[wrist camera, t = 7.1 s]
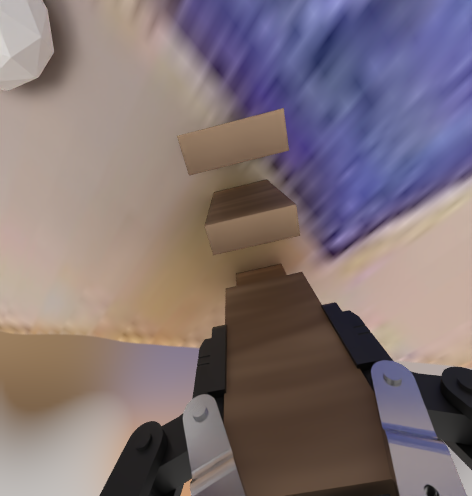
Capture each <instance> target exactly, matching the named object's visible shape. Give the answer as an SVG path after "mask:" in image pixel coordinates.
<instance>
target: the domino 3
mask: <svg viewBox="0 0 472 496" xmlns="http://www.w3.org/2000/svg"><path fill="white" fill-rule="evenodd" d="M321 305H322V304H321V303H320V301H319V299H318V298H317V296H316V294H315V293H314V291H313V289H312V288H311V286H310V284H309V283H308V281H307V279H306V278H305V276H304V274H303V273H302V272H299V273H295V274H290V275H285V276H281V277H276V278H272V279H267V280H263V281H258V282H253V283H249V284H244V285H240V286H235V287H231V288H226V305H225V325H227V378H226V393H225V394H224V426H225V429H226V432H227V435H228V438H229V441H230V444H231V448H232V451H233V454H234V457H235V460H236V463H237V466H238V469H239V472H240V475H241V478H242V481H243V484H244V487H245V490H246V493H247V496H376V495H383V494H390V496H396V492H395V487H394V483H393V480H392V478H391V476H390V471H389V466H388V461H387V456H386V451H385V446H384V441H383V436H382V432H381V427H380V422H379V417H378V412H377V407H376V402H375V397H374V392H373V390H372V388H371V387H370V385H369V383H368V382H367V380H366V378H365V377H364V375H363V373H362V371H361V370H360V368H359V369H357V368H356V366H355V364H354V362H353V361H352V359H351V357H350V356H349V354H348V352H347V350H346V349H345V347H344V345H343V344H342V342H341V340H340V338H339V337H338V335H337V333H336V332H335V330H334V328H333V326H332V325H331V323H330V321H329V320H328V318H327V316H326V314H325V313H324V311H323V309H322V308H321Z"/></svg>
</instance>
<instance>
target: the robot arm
mask: <svg viewBox="0 0 472 496" xmlns="http://www.w3.org/2000/svg"><path fill="white" fill-rule="evenodd" d="M321 308H322V309H323V311H324V313H325V314H326V316H327V318H328V320H329V321H330V323H331V325H332V326H333V328H334V330H335V332H336V333H337V335H338V337H339V338H340V340H341V342H342V344H343V345H344V347H345V349H346V350H347V352H348V354H349V356H350V357H351V359H352V361H353V362H354V364H355V366H356V368H357V369H359V368H360V370H361V371H362V373H363V375H364V377H365V378H366V380H367V382H368V383H369V385H370V387H371V388H372V390H373V392H374V397H375V402H376V407H377V412H378V417H379V422H380V427H381V432H382V436H383V441H384V446H385V451H386V456H387V461H388V466H389V471H390V476H391V478H392V480H393V483H394V487H395V492H396V496H467V495H466V492H465V490H464V487H463V485H462V482H461V480H460V477H459V475H458V472H457V469H456V467H455V465H454V462H453V459H452V457H451V454H450V452H449V450H448V448H447V446H446V444H447V445H448V446H449V447H450V448H451V450H452V451H454V452H455V453H456V455H458V457H459V458H460V459H461V460H462V461H463V462H465V464H466V465H467V466H468V467H469V468H470V469H471V470H472V370H470V369H467V368H463V367H449V368H447V369H445V370H444V371H443V373H442V376H436V375H426V374H418V373H414V372H411V371H409V370H408V369H407V368H406V367H404V366H403V365H401V364H399V363H397V362H394V361H393V360H392V359H391V357H390V356H389V355H388V354H387V352H386V351H385V350H384V348H383V347H382V346H381V345H380V343H379V342H378V341H377V339H376V338H375V337H374V336H373V334H372V333H371V332H370V330H369V329H368V328H367V326H365V324H364V323H363V321H362V320H361V319H360V317H359V316H357V315H356V314H354V313H353V312H351V311H344V312H342V310H341V309H340V308H339V306H338V305H337V303H330V304H325V305H321ZM198 358H199V359H198V364H197V370H196V377H195V385H194V392H193V398H192V400H191V401H190V402H189V403H188V404H187V406H186V408H185V410H184V413H183V414H182V415H180V416H179V417H178V418H176V419H174V420H172V421H171V422H169V423H167V424H165V425H163V426H161V425H160V424H159V423H157V422H155V421H151V422H147V423H144V424H143V425H141V426H140V427H138V428H137V429H136V430H135V431H134V433H133V434H132V435H131V437H130V438H129V440H128V442H127V444H126V446H125V448H124V450H123V452H122V453H121V455H120V457H119V459H118V461H117V463H116V465H115V467H114V469H113V471H112V473H111V475H110V476H109V478H108V480H107V482H106V484H105V486H104V488H103V490H102V492H101V494H100V496H180V495H181V492H182V488H183V485H184V483H185V482H187V481H189V480H190V479H192V481H191V483H190V490H191V496H247V493H246V490H245V487H244V484H243V481H242V478H241V475H240V472H239V469H238V466H237V463H236V460H235V457H234V454H233V451H232V448H231V444H230V441H229V438H228V435H227V432H226V429H225V426H224V394H225V393H226V378H227V325H222V326H217V327H213V329H212V338H210V339H205V340H204V341H203V343H202V345H201V347H200V349H199V357H198ZM442 440H443V441H444V442H445V443H446V444H445V443H444V442H443V441H442ZM376 496H390V494H383V495H376Z"/></svg>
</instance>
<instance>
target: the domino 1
mask: <svg viewBox="0 0 472 496" xmlns="http://www.w3.org/2000/svg"><path fill="white" fill-rule="evenodd" d="M177 137H178V141H179V144H180V147H181V151H182V154H183V157H184V161H185V164H186V167H187V170H188V174H189V175H193V174H197V173H201V172H205V171H209V170H213V169H217V168H221V167H225V166H229V165H233V164H237V163H241V162H245V161H249V160H253V159H257V158H261V157H265V156H269V155H273V154H277V153H281V152H285V151H289V147H288V139H287V131H286V124H285V116H284V108H282V109H279V110H275V111H271V112H267V113H263V114H260V115H256V116H252V117H248V118H244V119H240V120H237V121H233V122H229V123H225V124H221V125H217V126H214V127H210V128H206V129H202V130H198V131H195V132H191V133H187V134H183V135H179V136H177Z"/></svg>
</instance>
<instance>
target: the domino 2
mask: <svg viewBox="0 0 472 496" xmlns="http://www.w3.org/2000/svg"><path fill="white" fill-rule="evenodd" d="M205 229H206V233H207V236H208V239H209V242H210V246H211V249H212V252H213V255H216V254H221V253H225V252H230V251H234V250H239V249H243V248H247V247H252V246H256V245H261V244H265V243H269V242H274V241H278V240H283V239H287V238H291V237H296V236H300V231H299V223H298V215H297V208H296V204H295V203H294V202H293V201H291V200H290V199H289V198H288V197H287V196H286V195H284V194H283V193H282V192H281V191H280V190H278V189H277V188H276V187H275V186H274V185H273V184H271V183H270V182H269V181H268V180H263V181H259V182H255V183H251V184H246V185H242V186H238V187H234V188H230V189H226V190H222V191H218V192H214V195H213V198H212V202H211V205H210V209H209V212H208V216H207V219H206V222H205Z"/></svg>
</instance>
